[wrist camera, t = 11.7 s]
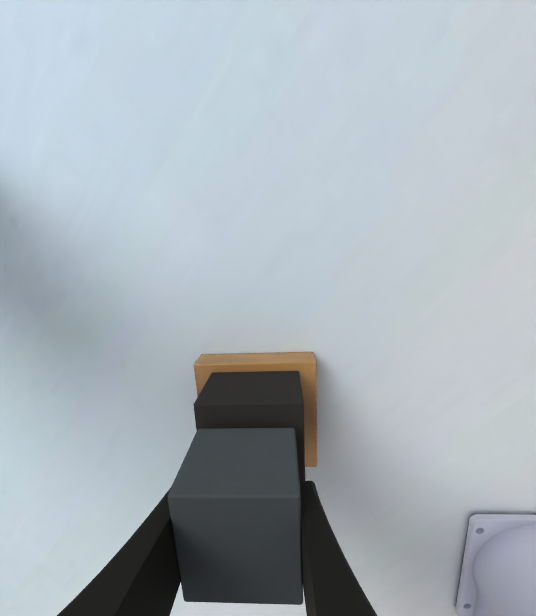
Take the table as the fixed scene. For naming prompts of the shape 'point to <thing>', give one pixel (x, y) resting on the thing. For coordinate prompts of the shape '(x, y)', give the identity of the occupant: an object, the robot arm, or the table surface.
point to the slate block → (239, 517)
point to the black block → (254, 404)
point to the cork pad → (272, 362)
